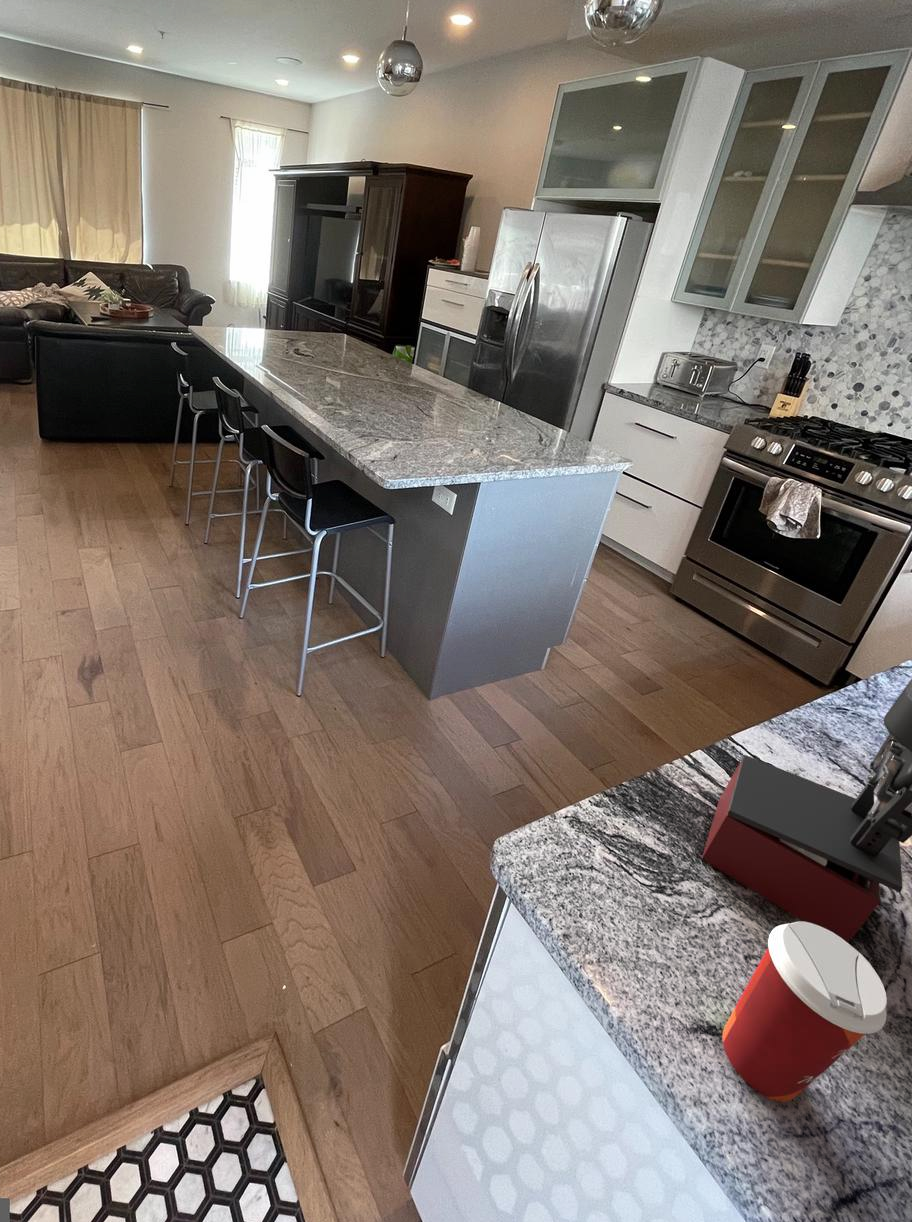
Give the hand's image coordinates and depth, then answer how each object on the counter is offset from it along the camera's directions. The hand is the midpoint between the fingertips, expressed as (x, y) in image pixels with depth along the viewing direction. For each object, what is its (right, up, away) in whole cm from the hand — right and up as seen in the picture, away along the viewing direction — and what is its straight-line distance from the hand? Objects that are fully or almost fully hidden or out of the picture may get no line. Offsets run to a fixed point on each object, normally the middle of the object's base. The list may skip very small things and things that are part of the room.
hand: (862, 831), depth 65 cm
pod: (-4, -7, +6) cm, 10 cm away
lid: (-3, 0, +3) cm, 4 cm away
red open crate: (-5, -8, +7) cm, 11 cm away
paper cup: (-19, -14, -12) cm, 26 cm away
